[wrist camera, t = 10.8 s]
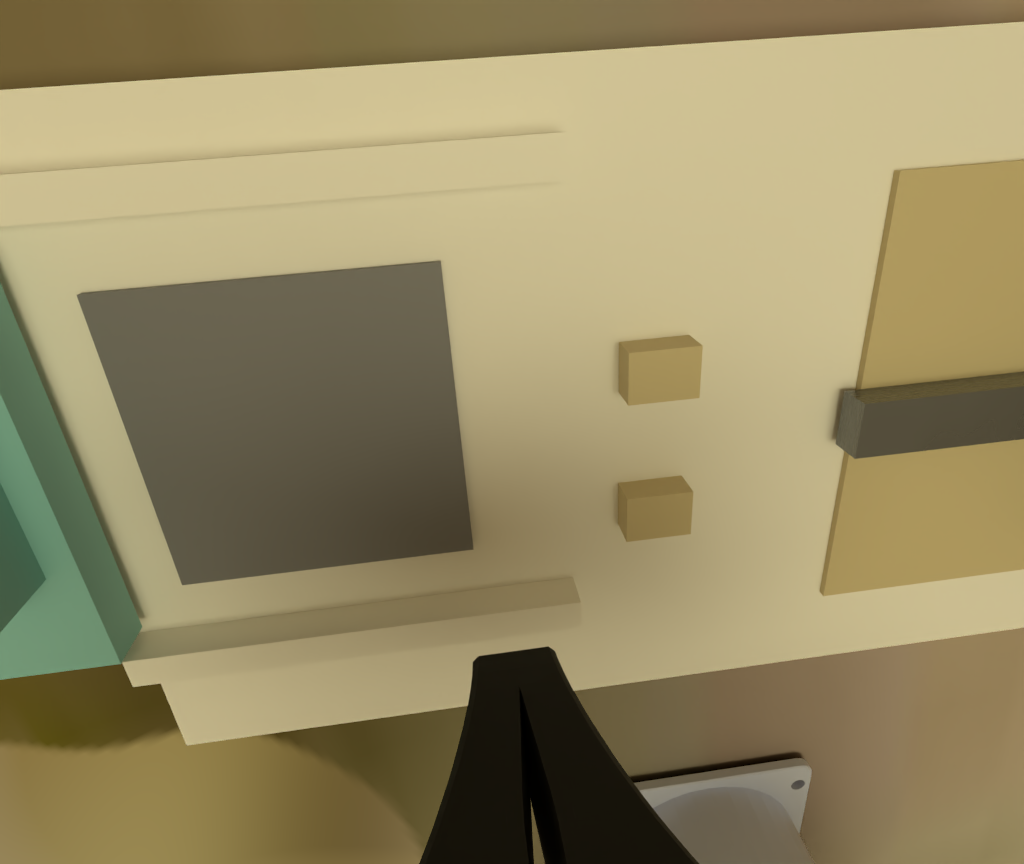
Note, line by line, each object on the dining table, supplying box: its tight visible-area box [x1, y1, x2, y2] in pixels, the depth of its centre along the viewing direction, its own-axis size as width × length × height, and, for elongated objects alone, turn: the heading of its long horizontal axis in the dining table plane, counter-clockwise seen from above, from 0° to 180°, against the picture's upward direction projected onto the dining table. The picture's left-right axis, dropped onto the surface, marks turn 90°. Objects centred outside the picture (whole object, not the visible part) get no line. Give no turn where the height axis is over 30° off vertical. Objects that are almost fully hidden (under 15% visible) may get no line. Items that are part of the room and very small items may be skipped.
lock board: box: [0, 22, 1024, 745], centre depth 16 cm, size 16×26×3 cm, turn 94°
